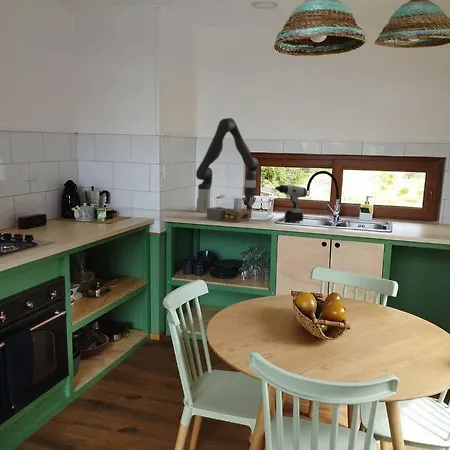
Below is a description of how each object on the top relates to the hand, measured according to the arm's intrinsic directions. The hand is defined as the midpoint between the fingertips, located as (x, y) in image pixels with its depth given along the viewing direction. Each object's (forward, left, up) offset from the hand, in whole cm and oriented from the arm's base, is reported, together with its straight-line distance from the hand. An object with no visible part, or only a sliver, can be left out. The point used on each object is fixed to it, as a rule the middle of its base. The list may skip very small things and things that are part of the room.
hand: (248, 211), depth 336 cm
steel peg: (0, -13, -5) cm, 14 cm away
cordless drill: (+21, +19, -6) cm, 29 cm away
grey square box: (-13, -17, -5) cm, 22 cm away
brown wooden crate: (0, -12, -4) cm, 13 cm away
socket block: (0, -13, -5) cm, 14 cm away
